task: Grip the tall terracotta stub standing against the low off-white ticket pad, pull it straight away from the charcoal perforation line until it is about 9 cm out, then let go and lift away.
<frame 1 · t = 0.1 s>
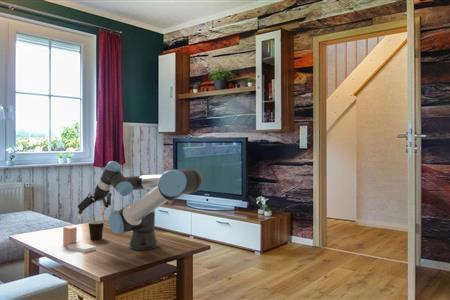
hand: (89, 216, 206), 15 cm above the table, tool tilted 35°, fingers open, 13 cm apart
ticket pad: (81, 249, 195), on the table
stub: (69, 236, 200), point 5 cm above the table, slide at 0.0 cm
coffee mug: (97, 239, 217), on the table
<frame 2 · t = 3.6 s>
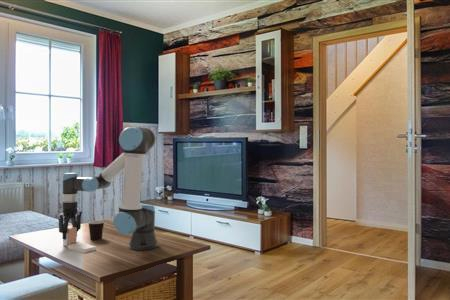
hand: (69, 244, 201), 1 cm above the table, tool pointing down, fingers closed on stub, 4 cm apart
stub: (69, 236, 200), point 5 cm above the table, slide at 0.0 cm, touching gripper
everything else where it was.
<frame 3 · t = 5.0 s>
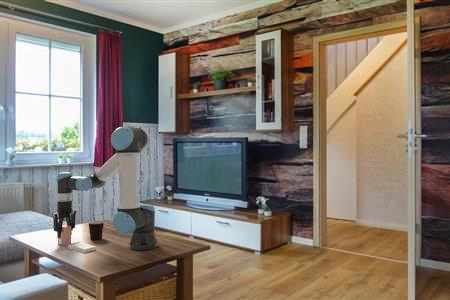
hand: (64, 242, 203), 1 cm above the table, tool pointing down, fingers closed on stub, 4 cm apart
stub: (64, 235, 203), point 5 cm above the table, slide at 4.9 cm, touching gripper
everything else where it was.
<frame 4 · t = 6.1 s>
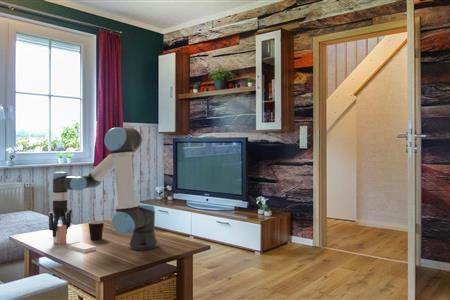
hand: (59, 241, 206), 1 cm above the table, tool pointing down, fingers closed on stub, 4 cm apart
stub: (59, 234, 206), point 5 cm above the table, slide at 9.3 cm, touching gripper
everything else where it was.
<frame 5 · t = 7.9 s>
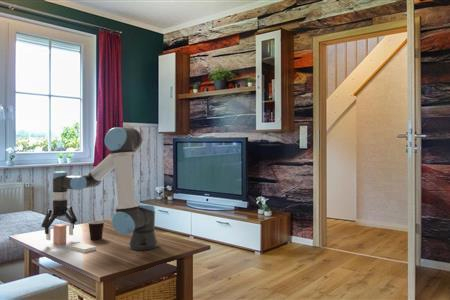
hand: (59, 237, 206), 3 cm above the table, tool pointing down, fingers open, 13 cm apart
stub: (59, 233, 206), point 5 cm above the table, slide at 9.4 cm
everything else where it was.
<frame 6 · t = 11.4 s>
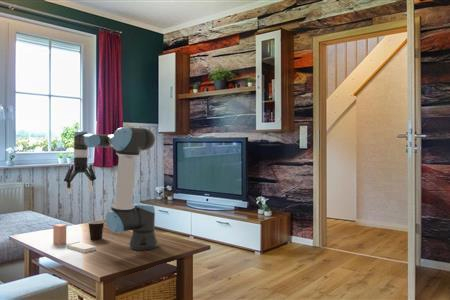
hand: (80, 192, 220), 27 cm above the table, tool pointing down, fingers open, 13 cm apart
nothing on the table moved.
at the end: stub slide at 9.4 cm; the gripper is holding nothing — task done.
